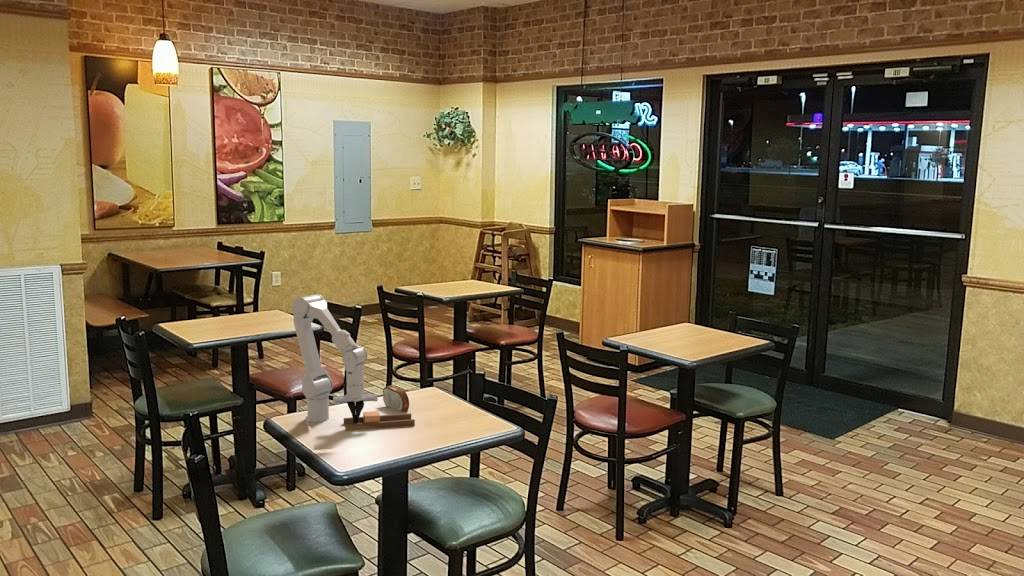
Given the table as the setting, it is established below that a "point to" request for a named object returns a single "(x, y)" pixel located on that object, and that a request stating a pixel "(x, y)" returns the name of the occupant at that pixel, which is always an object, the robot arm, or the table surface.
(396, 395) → the tin
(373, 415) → the block
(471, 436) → the table surface
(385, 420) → the chute
